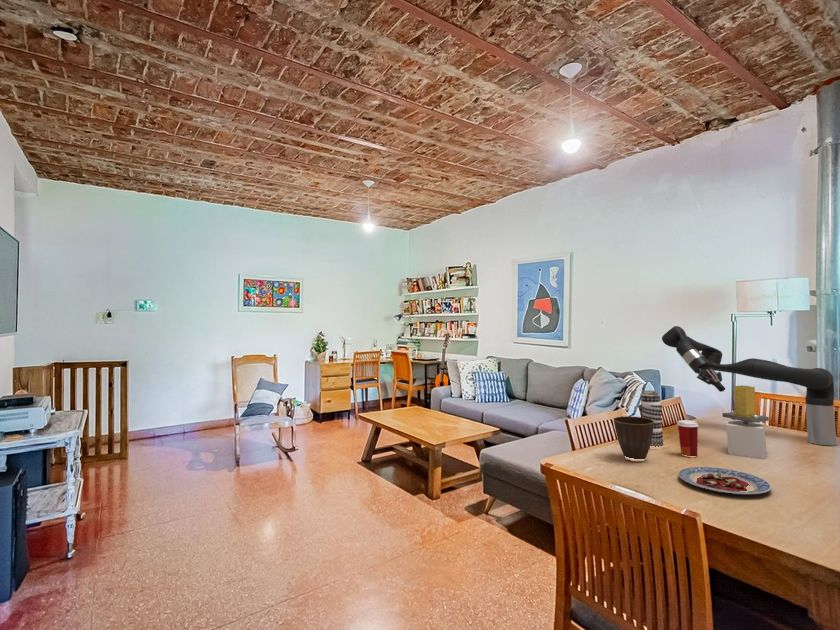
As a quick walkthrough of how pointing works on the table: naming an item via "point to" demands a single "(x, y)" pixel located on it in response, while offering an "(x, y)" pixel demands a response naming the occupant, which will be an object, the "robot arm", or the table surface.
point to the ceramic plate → (724, 480)
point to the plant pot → (634, 435)
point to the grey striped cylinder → (652, 414)
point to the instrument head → (745, 405)
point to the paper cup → (688, 437)
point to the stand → (746, 438)
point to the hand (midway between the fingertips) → (722, 390)
